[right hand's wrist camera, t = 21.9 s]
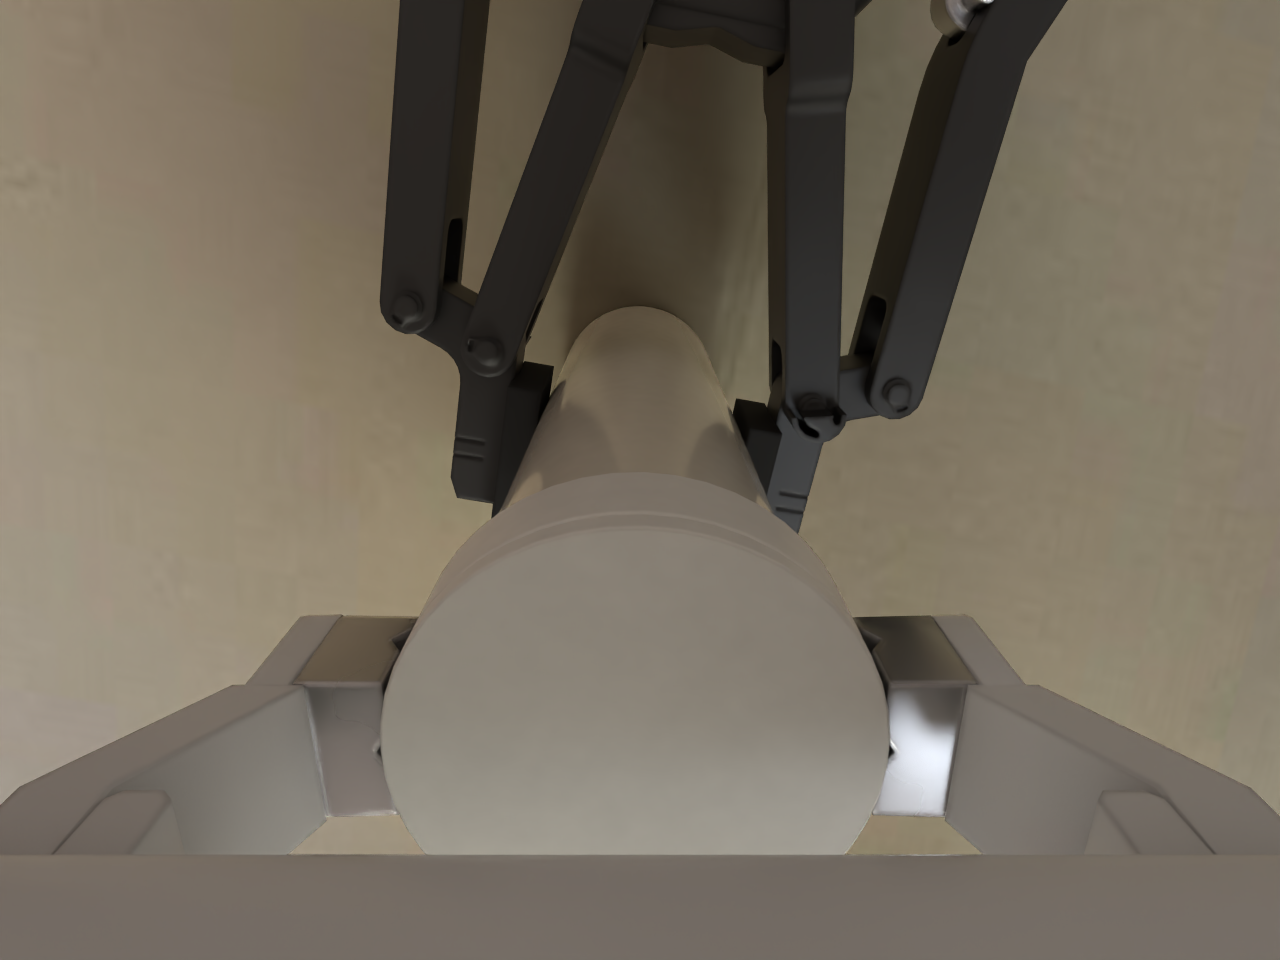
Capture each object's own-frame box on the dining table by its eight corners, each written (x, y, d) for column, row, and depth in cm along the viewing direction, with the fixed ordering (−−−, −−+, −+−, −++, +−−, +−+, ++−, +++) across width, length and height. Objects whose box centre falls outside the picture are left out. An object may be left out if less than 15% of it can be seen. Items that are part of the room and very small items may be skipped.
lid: (923, 542, 9) (978, 612, 8) (763, 878, 11) (783, 987, 10) (473, 411, 9) (439, 458, 7) (382, 787, 11) (339, 888, 9)
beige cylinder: (572, 455, 26) (466, 873, 10) (556, 311, 25) (400, 540, 9) (714, 444, 26) (835, 852, 10) (708, 300, 25) (840, 509, 8)
